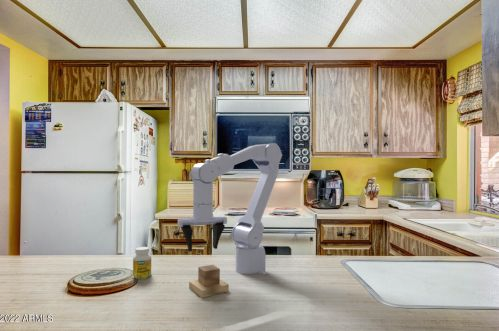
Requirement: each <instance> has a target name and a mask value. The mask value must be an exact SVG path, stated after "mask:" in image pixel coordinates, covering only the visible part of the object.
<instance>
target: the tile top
mask: <svg viewBox="0 0 499 331" xmlns="http://www.w3.org/2000/svg"><path fill="white" fill-rule="evenodd" d="M188 289H189V290H191V291H192V292H194V294H195V293H196V294H198V295H199V296H200V297H199V298H201V299H202V298H208V297H210V296H216V295H215V294H217V295H220V294H219V293H223V292H227V293H228V292H229V291H230V290H229V289H230V286H229V284H228V283H227V282H226V281H223V280H222V279H220V284H215V285H210V286H205V287H204V286H203V285H202V284H201V283H200V282H198V279H194V280H189V282H188ZM196 294H195V295H196Z"/></svg>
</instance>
